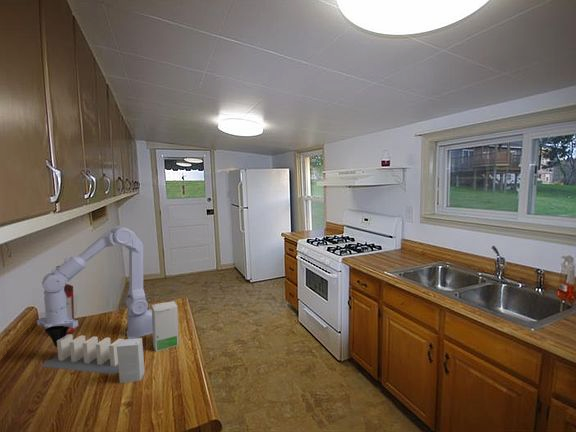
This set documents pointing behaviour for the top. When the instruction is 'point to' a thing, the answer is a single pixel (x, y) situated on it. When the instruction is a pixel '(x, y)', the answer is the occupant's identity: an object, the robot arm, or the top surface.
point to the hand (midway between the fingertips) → (59, 345)
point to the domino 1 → (64, 347)
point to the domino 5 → (114, 352)
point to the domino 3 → (90, 349)
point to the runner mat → (82, 365)
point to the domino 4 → (103, 351)
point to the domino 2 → (77, 348)
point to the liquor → (69, 303)
